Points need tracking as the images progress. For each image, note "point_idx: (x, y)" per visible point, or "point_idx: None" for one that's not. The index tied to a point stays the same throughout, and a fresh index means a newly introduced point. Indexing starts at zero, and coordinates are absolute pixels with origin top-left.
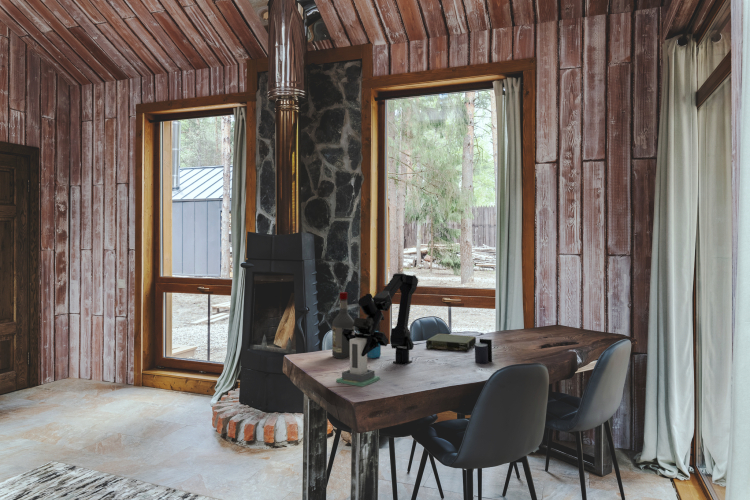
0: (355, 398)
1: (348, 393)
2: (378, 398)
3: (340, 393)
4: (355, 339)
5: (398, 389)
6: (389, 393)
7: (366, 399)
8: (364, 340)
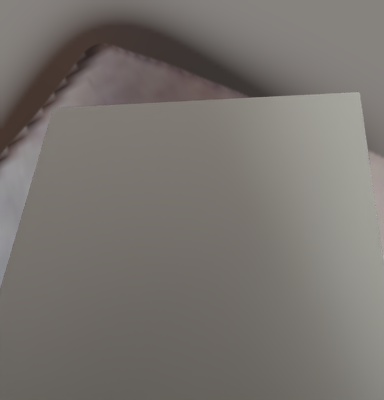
0: (116, 73)
1: (164, 99)
2: (47, 111)
3: (191, 84)
4: (214, 164)
5: (4, 240)
6: (26, 175)
7: (80, 84)
8: (21, 291)
